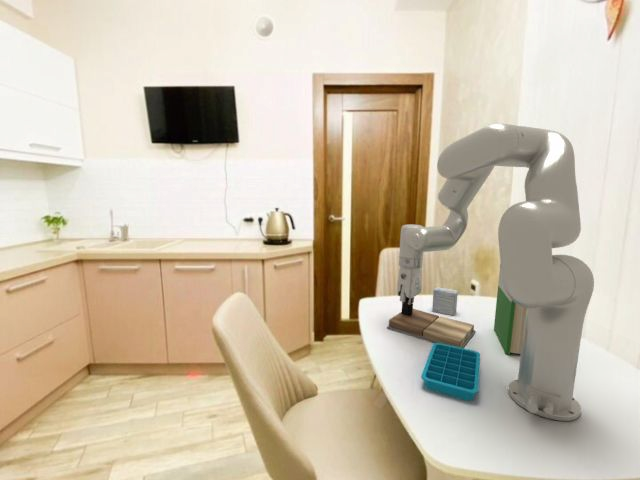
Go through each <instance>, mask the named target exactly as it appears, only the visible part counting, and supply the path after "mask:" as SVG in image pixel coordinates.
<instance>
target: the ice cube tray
mask: <svg viewBox="0 0 640 480" xmlns="http://www.w3.org/2000/svg"><path fill="white" fill-rule="evenodd" d="M480 364H481V353H480V352H478V351H476V350H473V349H468V348H465V347H464V348H460V347H455V346H451V345H446V344H441V343H433V344H432V346H431V348H430V351H429V353H428V356H427V359H426V362H425V364H424V367H423V369H422V372H421V375H420V378H421V379H422V380H423V381H424V387H425V389H426V390H430V391H432V392H436V393H439V394H442V393H443V394H442V395H446V394H447V395H446V396H449V395H450V397H453V398H456V399H460V400H464V401H467V402H472V401H473V400H474V397H475V395H476V394H479V385H480V371H481V370H480V367H481V365H480Z"/></svg>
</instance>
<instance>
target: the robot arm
mask: <svg viewBox="0 0 640 480" xmlns="http://www.w3.org/2000/svg"><path fill="white" fill-rule="evenodd" d="M575 158H576V157H575V151H574V148H573V145H572V142H571V141H570V139H568V137H566V136H565V135H564V134H562V133H561V132H558V131H555V130H552V129H545V128H539V127H538V128H537V127H531V126H522V125H515V124H508V123H493V124H489V125H487V126H484V127H482V128H480V129H478V130H475V131H474V132H472V133H470V134H468V135H465V136H463V137H462V138H461V137H460V139H457V140H456V141H453V142H452V143H450V144H449V145H447V147H445V148H444V149H443V150H442V152H441V153H440V155H439V156H438V159H437V164H436V168H437V172H438V174H439V175H440V176H441V177H442V178H444V179H446V181H445V182H444V184H443V185H442V187H441V189H440V190H439V192H438V195H437V199H438V201H439V202H440V204H441V205H443V207H445V208H446V209H448V210H449V214H448V216H447V218H446V220H445V221H444V223H443V225H442V226H440V225H439V226H423V225H421V224H413V223H412V224H411V223H410V224H404V225H402V226H401V229H400V238H399V251H398V253H399V254H398V255H399V257H398V266H399V270H398V276H397V284H396V285H397V287H396V288H397V289H396V295H397V296H398V297H399V301H400V302H401V312H402V314H404V315H407V316H411V315H412V312H413V309H414V308H413V307H414V302H415V301H414V300H415V297H416V296H418V295H419V294H420V293H422V285H423V283H422V282H423V281H422V280H423V272H422V271H423V270H422V269H423V260H424V253H429V252H437V251H439V252H440V251H447V250H450V249H452V248H453V247H455V245H456V244H457V243H458V242H459V240H460V239H461V237H462V236H463V235H464V233H465V231H466V229H467V226H468V221H469V212H468V209H469V206H470V205H471V203H472V201H474V198H475V197H476V196H477V194H478V193H479V191H480V190H481V188H482V186H483V185H484V184H485V182H486V180H488V179H489V176H490V175H491V174H492V171H493V170H494V167H506V168H507V167H511V168H512V167H513V168H528V170H527V173H526V176H525V179H524V195H525V201H520V202H517V203H514V204H512V205H511V206H509V207H508V208H507V209H506V210H505V211H504V213H503V214H502V216H501V218H500V219H499V220H500V221H499V223H498V230H497V231H498V232H497V236H498V237H497V239H498V248H499V259H500V260H499V262H500V263H501V274H502V281H503V285H504V289H505V291H506V293H507V295H508V296H509V297H510V299H511V300H512V301H514V302H515V303H516V304H518V305H520V306H522V307H525V308H527V311H526V316H525V322H524V330H523V339H522V347H521V354H520V356H519V357H520V358H519V366H518V367H519V368H518V375H517V379H515V380H512V381H511V382H509V384H508V389H507V390H508V395H509V396H510V398H511V399H512V400H513V401H514V402H515V403H516V404H518V405H519V406H520V407H521V408H523V409H525V410H527V411H528V412H529V413H530V414H535V415H537V416H540V417H543V418H546V419H550V420H552V421H553V420H556V421H560V422H561V421H562V422H564V421H565V422H567V421H574V420H577V419H578V418H579V417H580V416H581V412H582V407H581V405H580V403H579V401H578V400H577V399H576V398H575V397H574V396H573V395H574V389H575V384H576V376H577V369H578V361H579V354H580V347H581V340H582V334H583V328H584V324H585V323H584V322H585V317H586V315H587V310H588V308H589V304H590V302H591V299H592V297H593V293H594V287H595V278H594V273H593V271H592V270H591V267H589V266H588V264H586V262H584V261H583V260H581V259H579V258H578V257H575V256H572V255H568V254H553V249H558V248H564V247H567V246H569V245H572V244H573V243H574V242H575V241H576V240H577V239H578V238H579V237H580V234H581V230H582V223H581V214H580V205H579V196H578V195H579V193H578V186H577V179H576V162H575V161H576V160H575ZM500 263H499V264H500Z"/></svg>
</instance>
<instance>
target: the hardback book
mask: <svg viewBox="0 0 640 480" xmlns="http://www.w3.org/2000/svg"><path fill="white" fill-rule="evenodd" d="M498 272H499V274H498V284H497V293H496V294H497V295H496V303H495V311H494V323H493V331H494V333H495V336H496V337H497V339H498V341H499V344H500V346H501V348H502V350H503V352H504V354H505V355H506V356H509V357H510V355H511V354H517V355H521V347H522V339H523V330H524V322H525V316H526V311H527V308H525V307H522V306H520V305H518V304H516V303H515V302H514V301H512V300H511V299H510V297H509V296H508V295H507V293H506V291H505V289H504V285H503V281H502V274H501V263H499V271H498Z"/></svg>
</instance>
